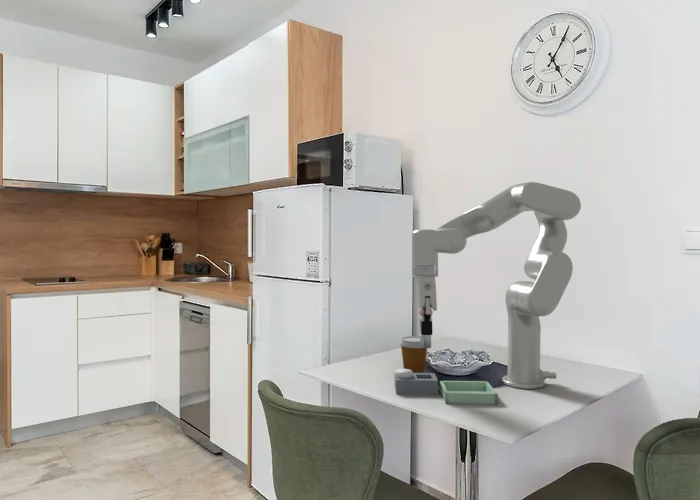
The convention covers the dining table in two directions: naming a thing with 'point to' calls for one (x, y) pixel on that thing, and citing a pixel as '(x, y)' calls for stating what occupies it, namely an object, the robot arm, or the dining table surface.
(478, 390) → the tray
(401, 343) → the disposable coffee cup
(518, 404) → the dining table surface
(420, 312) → the pin
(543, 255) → the robot arm
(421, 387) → the block
